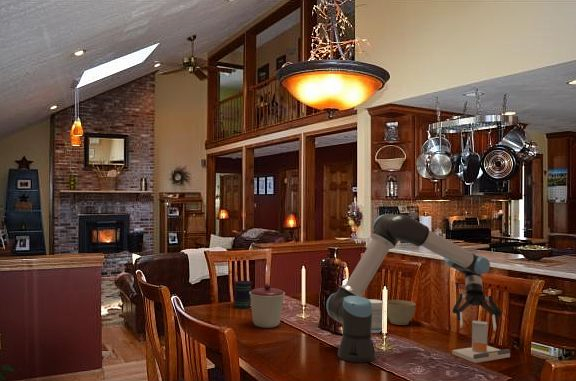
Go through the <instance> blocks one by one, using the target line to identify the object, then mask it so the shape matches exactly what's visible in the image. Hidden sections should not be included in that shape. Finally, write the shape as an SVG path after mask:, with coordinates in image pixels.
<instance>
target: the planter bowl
mask: <svg viewBox="0 0 576 381" xmlns="http://www.w3.org/2000/svg"><path fill="white" fill-rule="evenodd" d="M416 306H417V305H416V303H415V302H413V301H409V300H402V299H388V313H387V314H386V316H387V318H388V320H389V323H390V324H392V325H396V326H397V325H398V326H407V325H409V324H410V322H411V320H412V318H413V317H414V315H415V311H416Z"/></svg>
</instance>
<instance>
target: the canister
mask: <svg viewBox="0 0 576 381" xmlns="http://www.w3.org/2000/svg"><path fill="white" fill-rule="evenodd" d="M249 294H250V295H251V297H250V298H251V305H250V306H251V316H252V322H253V324H254V325H255V326H256V327H258V328H261V329H263V328H264V329H272V328H276V327H277V326H279V325H280V323H281V318H282V311H283V306H284V297H285V295H286V292H285V291H283V290H282V289H280V288H276V287H272V284H270V283H267V282H266V283H264V284H263V287H257V288H254V289H251V291H250V292H249Z"/></svg>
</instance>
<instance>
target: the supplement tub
mask: <svg viewBox="0 0 576 381" xmlns="http://www.w3.org/2000/svg"><path fill="white" fill-rule="evenodd" d="M368 300H370V302H371V304H372V330H371V334H380V332H381V331H382V301H383V300H381V299H380V300H379V299H368ZM382 332H383V331H382ZM382 332H381V333H382Z"/></svg>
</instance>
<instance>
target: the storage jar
mask: <svg viewBox="0 0 576 381" xmlns="http://www.w3.org/2000/svg"><path fill="white" fill-rule="evenodd" d="M250 291H252V281H250V280H236V281H234V298H233V304H234V307H233V308H234V309H237V310H249V309H252V307H251V295H250V294H249V292H250Z"/></svg>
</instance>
